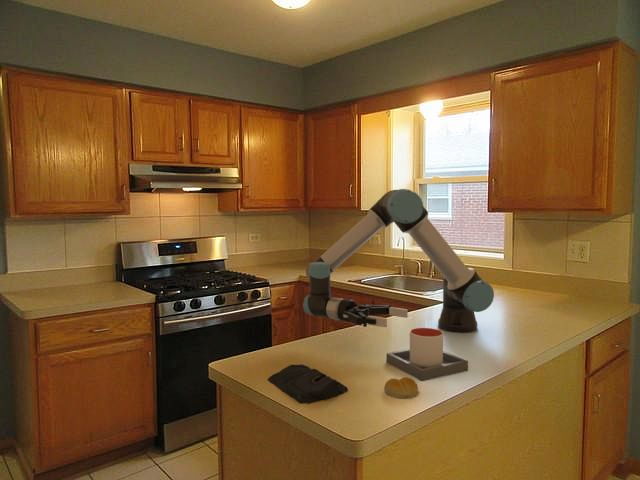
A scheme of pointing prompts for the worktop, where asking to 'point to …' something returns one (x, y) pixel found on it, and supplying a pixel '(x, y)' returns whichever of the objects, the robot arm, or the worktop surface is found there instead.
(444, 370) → the tray
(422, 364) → the cup
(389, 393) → the bread roll
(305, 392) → the dark slate chunk
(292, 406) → the worktop surface
